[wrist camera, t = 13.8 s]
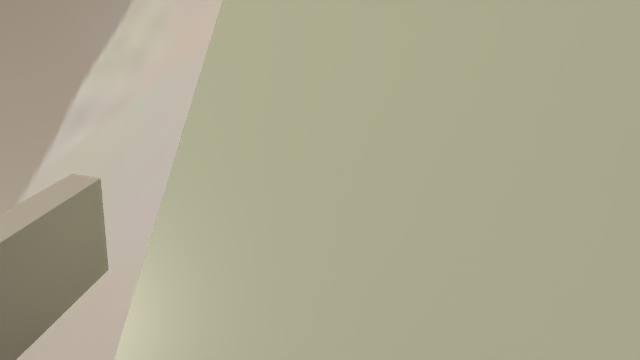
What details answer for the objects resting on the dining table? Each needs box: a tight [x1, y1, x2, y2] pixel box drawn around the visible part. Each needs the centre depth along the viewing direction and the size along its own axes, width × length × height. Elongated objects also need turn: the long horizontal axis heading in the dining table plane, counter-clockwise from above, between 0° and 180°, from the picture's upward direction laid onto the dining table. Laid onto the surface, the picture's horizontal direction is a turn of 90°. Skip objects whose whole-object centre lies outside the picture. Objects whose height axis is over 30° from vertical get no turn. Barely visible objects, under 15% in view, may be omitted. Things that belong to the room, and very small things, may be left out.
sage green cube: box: [114, 0, 640, 360], centre depth 15 cm, size 10×10×12 cm
